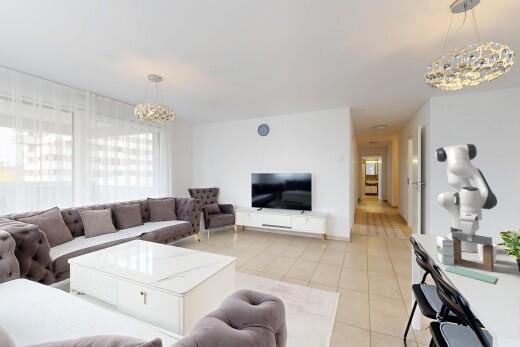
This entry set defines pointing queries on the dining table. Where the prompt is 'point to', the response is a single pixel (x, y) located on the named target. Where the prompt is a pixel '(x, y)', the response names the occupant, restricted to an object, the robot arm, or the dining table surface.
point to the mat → (471, 274)
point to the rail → (476, 238)
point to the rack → (458, 259)
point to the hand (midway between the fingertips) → (471, 239)
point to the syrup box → (445, 250)
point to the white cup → (480, 252)
